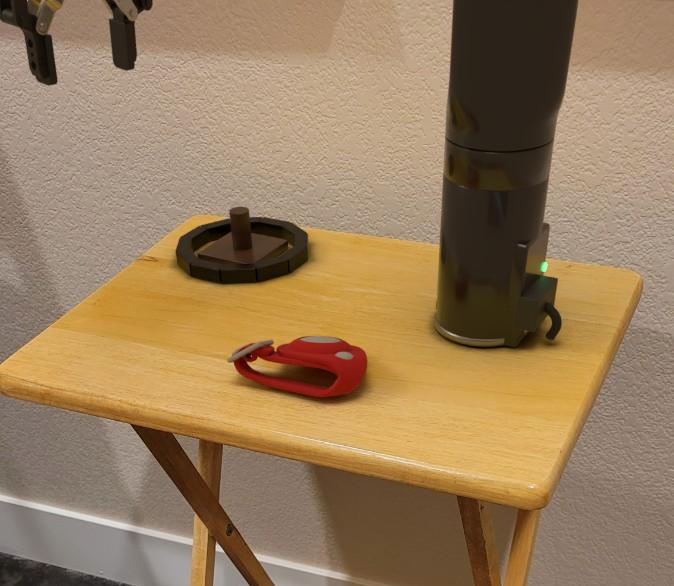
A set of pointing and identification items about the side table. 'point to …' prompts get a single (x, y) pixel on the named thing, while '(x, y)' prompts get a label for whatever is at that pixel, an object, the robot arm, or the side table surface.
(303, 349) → the tracker holder
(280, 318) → the side table surface
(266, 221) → the ring
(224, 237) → the ring holder
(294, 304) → the side table surface
